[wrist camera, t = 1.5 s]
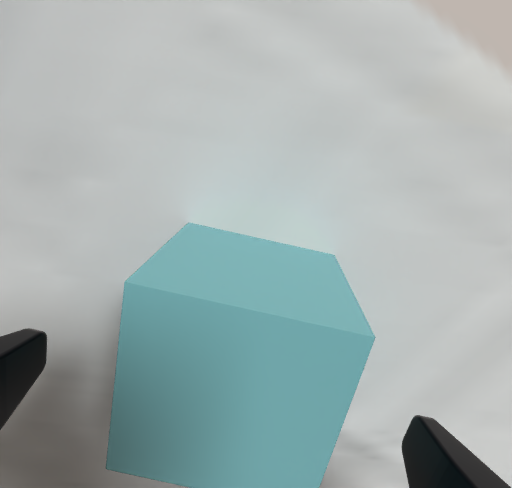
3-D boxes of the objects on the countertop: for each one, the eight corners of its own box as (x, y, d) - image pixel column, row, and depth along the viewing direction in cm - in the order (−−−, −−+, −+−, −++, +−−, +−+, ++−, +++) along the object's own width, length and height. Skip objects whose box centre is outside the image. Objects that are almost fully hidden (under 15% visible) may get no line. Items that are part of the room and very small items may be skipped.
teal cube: (169, 346, 13) (105, 469, 8) (189, 222, 11) (124, 282, 6) (297, 374, 13) (309, 513, 8) (333, 254, 11) (375, 337, 7)
